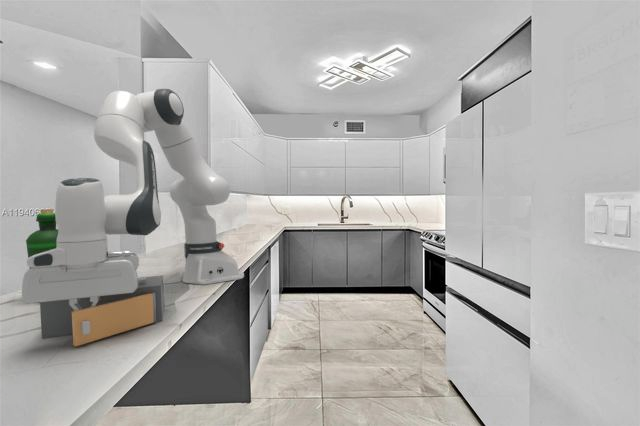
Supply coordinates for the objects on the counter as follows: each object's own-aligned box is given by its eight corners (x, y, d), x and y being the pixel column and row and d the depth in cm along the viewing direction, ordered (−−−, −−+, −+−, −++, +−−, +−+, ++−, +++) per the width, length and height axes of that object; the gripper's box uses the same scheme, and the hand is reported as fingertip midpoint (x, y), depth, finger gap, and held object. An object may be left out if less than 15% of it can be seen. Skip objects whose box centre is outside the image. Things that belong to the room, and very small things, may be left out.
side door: (155, 320, 81) (153, 292, 81) (159, 322, 80) (158, 293, 80) (73, 345, 68) (71, 311, 68) (77, 348, 66) (75, 313, 66)
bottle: (79, 296, 105) (74, 208, 104) (37, 306, 96) (32, 210, 95) (63, 292, 111) (59, 208, 109) (22, 300, 101) (17, 210, 100)
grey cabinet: (164, 306, 93) (162, 271, 93) (162, 321, 82) (160, 280, 82) (60, 320, 84) (58, 280, 83) (41, 338, 73) (39, 292, 72)
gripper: (139, 248, 78) (141, 306, 78) (30, 255, 70) (33, 319, 70) (136, 252, 72) (138, 315, 72) (16, 259, 64) (19, 330, 64)
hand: (85, 317), depth 71 cm, fingers closed
